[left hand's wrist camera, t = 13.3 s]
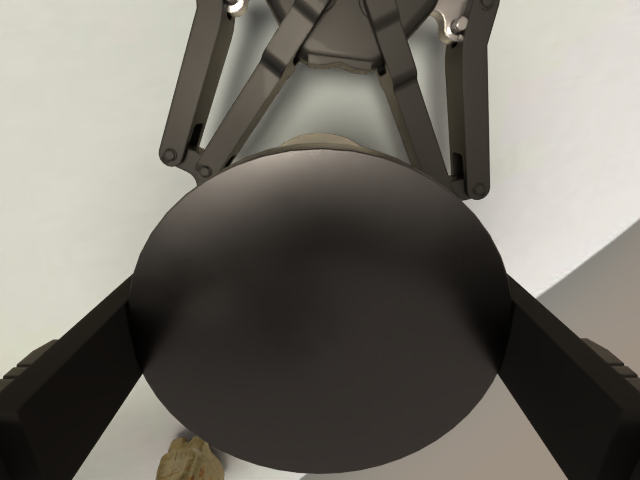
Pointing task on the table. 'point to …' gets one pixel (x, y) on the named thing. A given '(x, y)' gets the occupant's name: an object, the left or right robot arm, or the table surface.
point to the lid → (320, 309)
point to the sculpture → (189, 462)
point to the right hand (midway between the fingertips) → (312, 291)
